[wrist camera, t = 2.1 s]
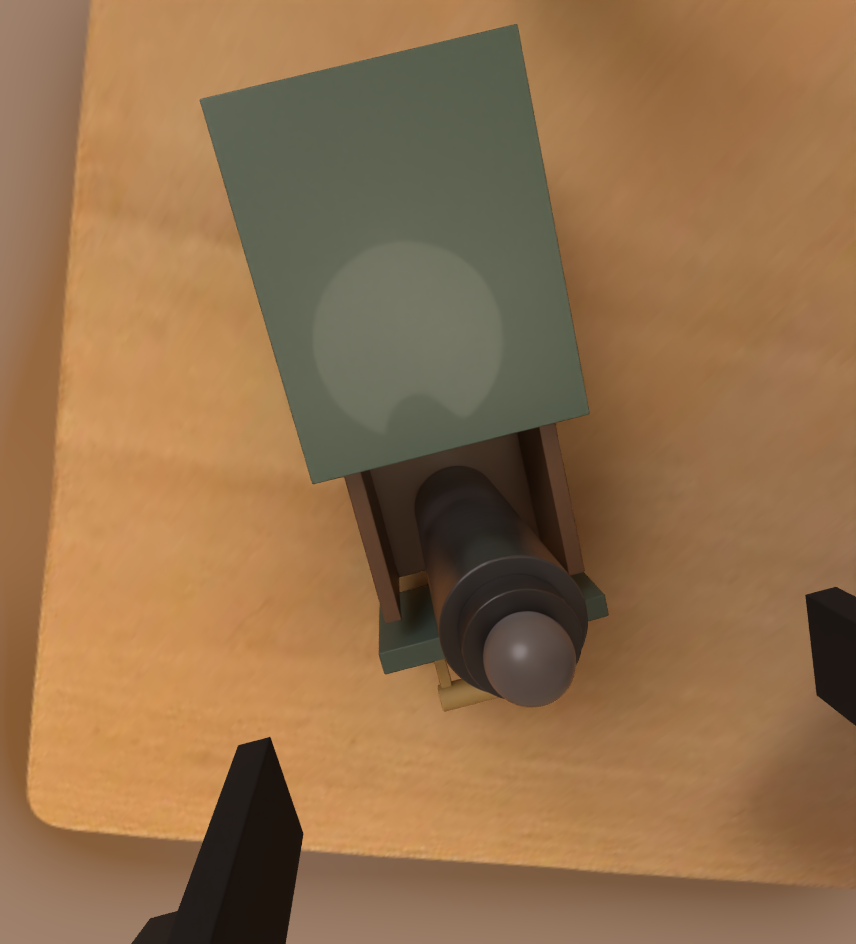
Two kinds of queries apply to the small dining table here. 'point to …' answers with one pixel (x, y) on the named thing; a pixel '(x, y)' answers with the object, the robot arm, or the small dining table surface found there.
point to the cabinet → (403, 251)
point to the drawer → (400, 553)
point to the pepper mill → (497, 592)
